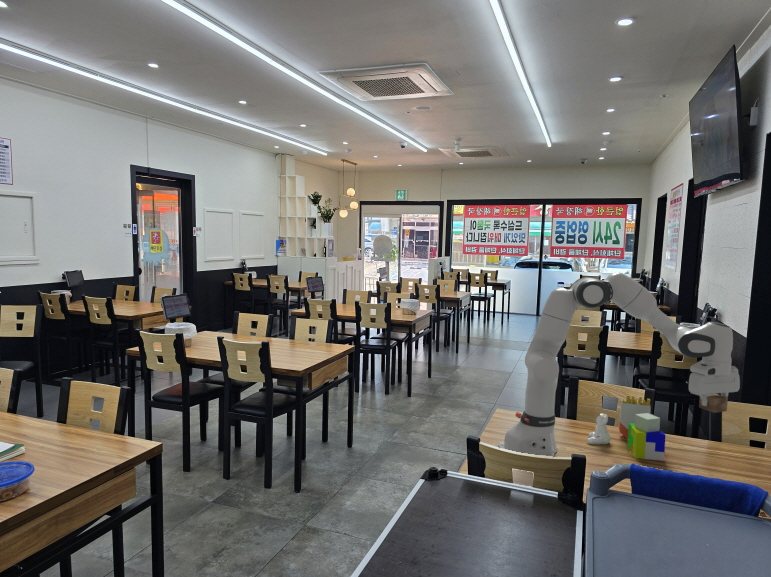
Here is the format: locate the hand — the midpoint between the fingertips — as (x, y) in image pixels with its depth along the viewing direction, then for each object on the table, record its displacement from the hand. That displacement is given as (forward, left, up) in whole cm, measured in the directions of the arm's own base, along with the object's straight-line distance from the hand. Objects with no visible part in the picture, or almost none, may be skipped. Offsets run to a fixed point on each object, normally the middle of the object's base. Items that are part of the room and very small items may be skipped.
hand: (713, 404), depth 182 cm
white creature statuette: (-24, +29, -23) cm, 44 cm away
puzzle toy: (-15, +14, -23) cm, 31 cm away
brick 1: (-15, +14, -13) cm, 24 cm away
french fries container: (-7, +29, -23) cm, 38 cm away
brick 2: (0, 0, -2) cm, 2 cm away
